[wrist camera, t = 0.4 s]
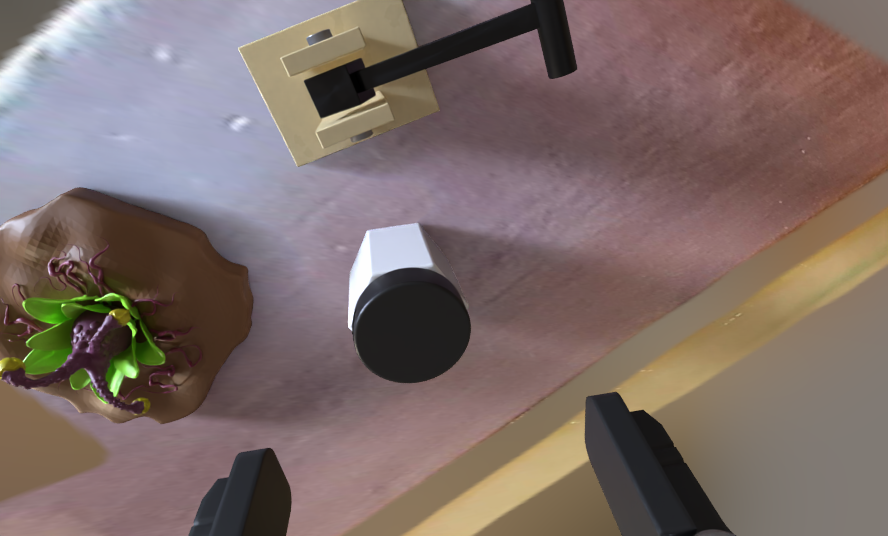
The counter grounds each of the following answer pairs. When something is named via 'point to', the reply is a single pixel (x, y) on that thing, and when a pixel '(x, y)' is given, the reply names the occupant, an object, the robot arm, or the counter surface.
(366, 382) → the counter surface
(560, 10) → the lever
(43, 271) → the plant
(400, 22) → the bracket
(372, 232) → the jar
